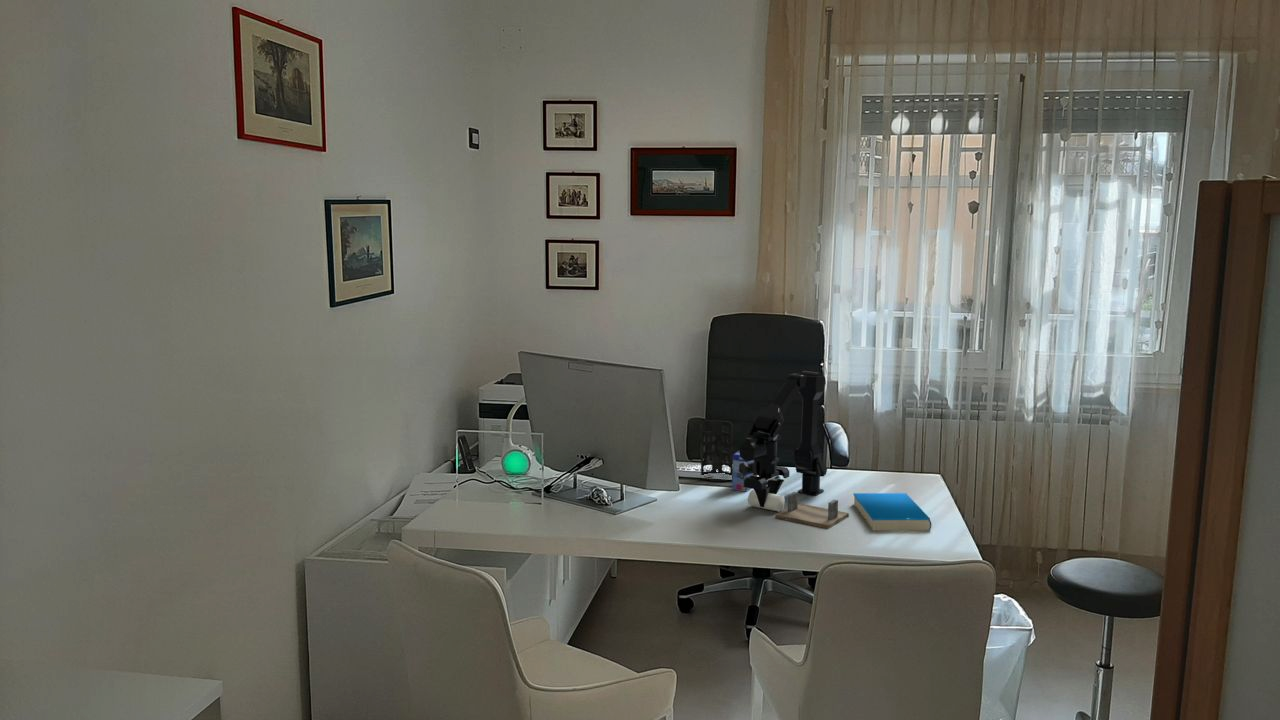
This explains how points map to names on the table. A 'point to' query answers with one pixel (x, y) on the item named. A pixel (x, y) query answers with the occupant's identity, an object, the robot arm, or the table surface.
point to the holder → (716, 447)
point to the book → (891, 511)
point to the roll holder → (812, 513)
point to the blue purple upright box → (737, 476)
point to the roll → (767, 501)
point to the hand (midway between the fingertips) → (766, 504)
